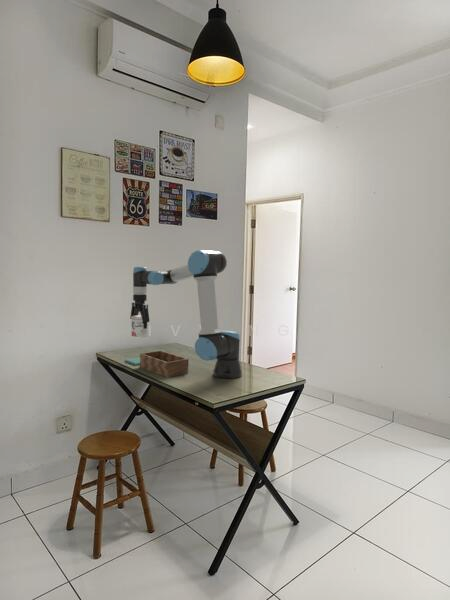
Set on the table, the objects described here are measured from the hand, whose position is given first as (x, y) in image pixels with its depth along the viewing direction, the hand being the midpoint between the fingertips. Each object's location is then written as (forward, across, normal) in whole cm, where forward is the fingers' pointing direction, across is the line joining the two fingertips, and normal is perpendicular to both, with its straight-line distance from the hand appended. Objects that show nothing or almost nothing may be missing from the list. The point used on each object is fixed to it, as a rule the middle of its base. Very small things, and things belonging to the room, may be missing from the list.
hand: (139, 332), depth 240 cm
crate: (+17, -23, -1) cm, 29 cm away
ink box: (+2, 0, 0) cm, 2 cm away
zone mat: (+17, 0, 0) cm, 17 cm away
